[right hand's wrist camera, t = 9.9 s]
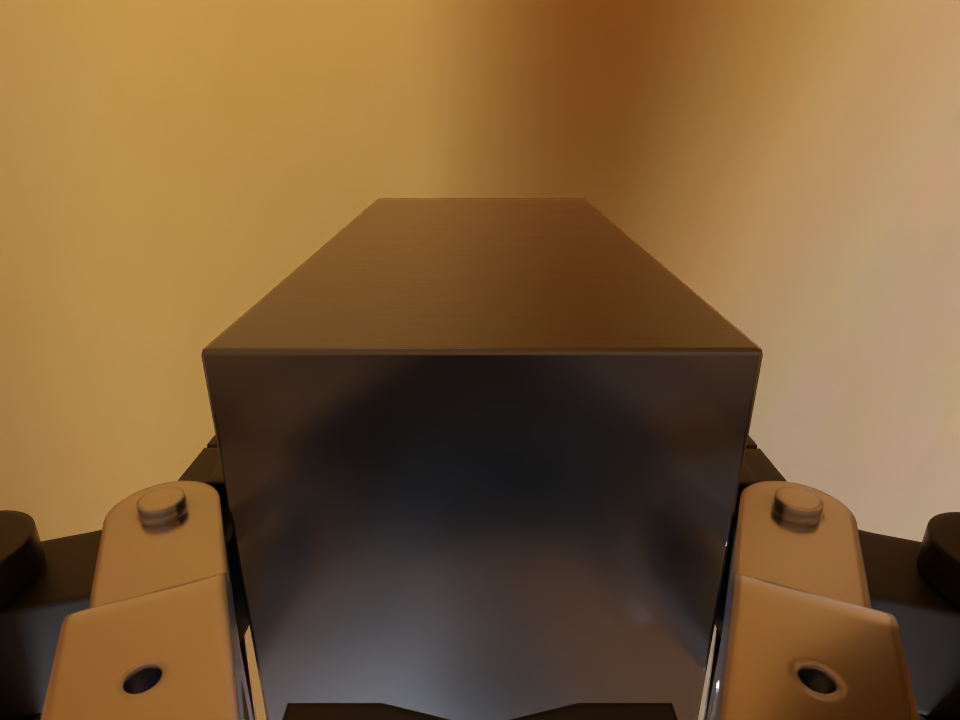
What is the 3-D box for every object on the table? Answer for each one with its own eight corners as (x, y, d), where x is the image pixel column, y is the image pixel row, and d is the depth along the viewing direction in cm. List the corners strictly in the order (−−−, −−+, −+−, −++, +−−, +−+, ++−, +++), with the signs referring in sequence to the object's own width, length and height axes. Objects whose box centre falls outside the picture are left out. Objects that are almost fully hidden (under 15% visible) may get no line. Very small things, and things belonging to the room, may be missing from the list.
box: (377, 198, 17) (197, 351, 6) (584, 197, 17) (766, 349, 6) (414, 806, 27) (368, 1291, 16) (549, 806, 27) (596, 1292, 16)
